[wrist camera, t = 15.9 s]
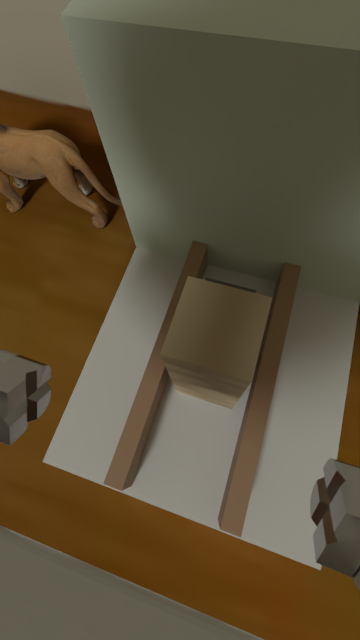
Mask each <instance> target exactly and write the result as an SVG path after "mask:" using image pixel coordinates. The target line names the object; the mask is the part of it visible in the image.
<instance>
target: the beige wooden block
mask: <svg viewBox="0 0 360 640" xmlns="http://www.w3.org/2000/svg"><path fill="white" fill-rule="evenodd" d="M256 291H257V290H253V289H249V288H245V287H241V286H237V285H233V284H230V283H226V282H222V281H218V280H214V279H210V278H206V279H205V280H202V279H198V278H195V277H191V276H188V277H187V280H186V283H185V286H184V289H183V291H182V294H181V297H180V300H179V302H178V305H177V308H176V311H175V314H174V316H173V319H172V322H171V325H170V327H169V330H168V333H167V336H166V339H165V341H164V344H163V347H162V350H161V352H160V355H161V358H162V360H163V362H164V364H165V367H166V369H167V371H168V373H169V376H170V378H171V380H172V382H173V385H174V387H175V389H176V391H177V392H179V393H182V394H185V395H188V396H192V397H195V398H198V399H201V400H204V401H207V402H210V403H213V404H216V405H219V406H223V407H226V408H229V409H232V408H233V407H234V406H235V404H236V403H237V401H238V400H239V399H240V397H241V396H242V394H243V393H244V392H245V390H246V389H247V387H248V386H249V385H250V383H251V381H252V377H253V373H254V369H255V365H256V361H257V357H258V353H259V349H260V345H261V341H262V337H263V333H264V329H265V325H266V322H267V318H268V314H269V310H270V306H271V302H272V298H273V297H269V296H265V295H261V294H257V293H256Z"/></svg>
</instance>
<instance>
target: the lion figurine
mask: <svg viewBox="0 0 360 640" xmlns="http://www.w3.org/2000/svg"><path fill="white" fill-rule="evenodd" d="M9 175H11V176H13V177H14V181H13V184H14V186H15V187H17V188H23V187H25V186H26V185H27V184H28V180H36V179H42V178H45V177H47V179H48V180H49V182H50V183H51V184H52V186H53V187H54V188H55V189H56V190H57V191H58V192H60V193H61V194H62V195H63V196H64V197H65V198H66V199H68V200H69V201H70V202H72V203H74V204H76V205H77V206H79V207H81V208H83V209H85V210H87V211H88V212H90V213H91V214H93V215H94V216H93V217H92V223H93V225H94V226H95V227H96V228H103V227H104V226H105V225H106V224H107V220H108V218H107V215H106V213H105V212H104V211H103V209H102V208H101V207H100V205H99V204H98V203H96V202H94V201H92V200H91V199H89V198H88V197H87V195H89V194H90V193H91V191H92V187H93V186H94V188H95V189H96V190H97V191H98V192H99V193H100V194H101V195H102V196H103V197H104V198H106V199H107V200H108V201H110V202H112V203H114V204H116V205H119V206H121V207H123V205H122V202H121V199H120V198H117V197H113V196H112V195H110V194H109V193H108V192H107V191H106V190H105V188H104V187H103V186H102V185H101V183H100V182H99V181H98V179H97V178H96V177H95V175H94V174H93V172H92V171H91V169H90V168H89V167H88V165H87V164H86V163H85V162H84V160H83V159H82V158H81V155H80V152H79V150H78V148H77V146H76V145H75V144H74V143H73V142H72V141H71V140H70V139H68V138H67V137H66V136H64V135H62V134H60V133H58V132H57V131H54V130H24V129H19V128H15V127H9V126H5V125H1V124H0V192H1V193H2V194H4V195H5V196H6V197H7V198H8V199H10V200H9V201H8V202H7V203H6V205H7V209H8V210H9V211H10V212H12V213H13V212H16V211H18V210H20V209H21V207H22V205H23V200H22V198H21V197H20V196H19V194H18V193H17V192H16V191H15V190H14V189H13V188H12V187H11V185H10V179H9ZM76 178H77V179H78V180H79V181H80V183H81V184H79V185H78V184H77V180H76Z"/></svg>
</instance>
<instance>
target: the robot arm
mask: <svg viewBox="0 0 360 640" xmlns="http://www.w3.org/2000/svg"><path fill="white" fill-rule="evenodd" d="M50 378H51V368H50V367H49V366H48V365H46V364H43V363H41V362H38V361H35V360H32V359H29V358H27V357H24V356H21V355H17V354H15V353H12V352H9V351H6V350H4V351H0V442H2V443H5V444H7V445H11V444H12V443H13V442H14V441H15V440H16V439H17V438H18V437H20V436H21V435H22V434H23V433H24V432H25V431H26V430H27V422H30V421H33V420H36V419H38V418H39V417H40V416H41V415H42V414H43V413H44V411H45V409H46V408H47V406H48V404H49V401H50V397H51V389H50V387H49V385H48V383H47V381H48V380H49V379H50ZM323 471H324V477H323V478H321V479H318V480H317V481H316V483H315V485H314V487H313V490H312V494H311V499H310V514H311V519H312V520H313V522H314V523H315V525H316V526H317V528H316V530H315V532H314V534H313V541H314V550H315V558H316V563H318V564H321V565H323V566H326V567H328V568H331V569H333V570H335V571H338V572H340V573H343V574H345V575H347V576H350V577H352V578H354V579H353V581H354V583H355V584H356V586H357V588H358V589H359V591H360V467H357V466H354V465H351V464H348V463H345V462H342V461H339V460H336V459H333V458H330V459H329V460H328V461H327V462H326V464H325V465H324V467H323ZM0 640H264V639H262V638H260V637H257V636H255V635H253V634H250V633H248V632H246V631H243V630H241V629H239V628H237V627H234V626H232V625H230V624H227V623H225V622H223V621H220V620H218V619H216V618H213V617H211V616H209V615H206V614H204V613H202V612H199V611H197V610H195V609H193V608H190V607H188V606H186V605H183V604H181V603H179V602H176V601H174V600H172V599H169V598H167V597H165V596H162V595H160V594H158V593H155V592H153V591H151V590H149V589H146V588H144V587H142V586H139V585H137V584H135V583H132V582H130V581H128V580H125V579H123V578H121V577H118V576H116V575H114V574H111V573H109V572H107V571H105V570H102V569H100V568H98V567H95V566H93V565H91V564H88V563H86V562H84V561H81V560H79V559H77V558H74V557H72V556H70V555H67V554H65V553H63V552H60V551H58V550H56V549H54V548H51V547H49V546H47V545H44V544H42V543H40V542H37V541H35V540H33V539H30V538H28V537H26V536H23V535H21V534H19V533H16V532H14V531H12V530H10V529H7V528H5V527H3V526H0Z"/></svg>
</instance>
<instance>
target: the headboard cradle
mask: <svg viewBox="0 0 360 640" xmlns="http://www.w3.org/2000/svg"><path fill="white" fill-rule="evenodd" d="M61 18H62V21H63V24H64V27H65V30H66V33H67V36H68V39H69V42H70V45H71V48H72V52H73V55H74V58H75V61H76V64H77V67H78V70H79V73H80V76H81V79H82V82H83V85H84V88H85V91H86V94H87V98H88V101H89V104H90V107H91V110H92V113H93V116H94V119H95V122H96V125H97V128H98V131H99V134H100V137H101V140H102V144H103V147H104V150H105V153H106V156H107V159H108V162H109V165H110V168H111V171H112V174H113V177H114V180H115V183H116V186H117V189H118V192H119V196H120V199H121V202H122V205H123V208H124V211H125V214H126V217H127V220H128V223H129V226H130V229H131V232H132V235H133V238H134V241H135V245H136V249H135V251H134V254H133V256H132V258H131V261H130V263H129V265H128V267H127V270H126V272H125V274H124V277H123V279H122V281H121V283H120V286H119V288H118V290H117V293H116V295H115V297H114V299H113V302H112V304H111V306H110V309H109V311H108V313H107V315H106V318H105V320H104V322H103V325H102V327H101V329H100V332H99V334H98V336H97V338H96V341H95V343H94V345H93V348H92V350H91V352H90V354H89V357H88V359H87V361H86V364H85V366H84V368H83V370H82V373H81V375H80V377H79V380H78V382H77V384H76V386H75V389H74V391H73V393H72V396H71V398H70V400H69V402H68V405H67V407H66V409H65V412H64V414H63V416H62V418H61V421H60V423H59V425H58V428H57V430H56V432H55V434H54V437H53V439H52V441H51V444H50V446H49V448H48V450H47V453H46V455H45V457H44V460H43V462H45V463H47V464H50V465H52V466H55V467H57V468H60V469H63V470H65V471H68V472H70V473H73V474H75V475H78V476H80V477H83V478H86V479H88V480H91V481H93V482H96V483H98V484H101V485H104V486H106V487H109V488H111V489H114V490H116V491H119V492H121V493H124V494H127V495H129V496H132V497H134V498H137V499H139V500H142V501H144V502H147V503H150V504H152V505H155V506H157V507H160V508H162V509H165V510H168V511H170V512H173V513H175V514H178V515H180V516H183V517H185V518H188V519H191V520H193V521H196V522H198V523H201V524H203V525H206V526H208V527H211V528H214V529H216V530H219V531H221V532H224V533H226V534H229V535H231V536H234V537H237V538H239V539H242V540H244V541H247V542H249V543H252V544H255V545H257V546H260V547H262V548H265V549H267V550H270V551H272V552H275V553H278V554H280V555H283V556H285V557H288V558H290V559H293V560H295V561H298V562H301V563H303V564H306V565H308V566H311V567H313V568H316V569H319V570H321V564H318V563H316V558H315V550H314V541H313V534H314V532H315V530H316V528H317V526H316V525H315V523H314V522H313V520H312V519H311V514H310V499H311V494H312V490H313V487H314V485H315V483H316V481H317V480H318V479H321V478H323V477H324V471H323V467H324V465H325V464H326V462H327V461H328V460H329V459H330V458H333V459H336V460H337V455H338V448H339V441H340V434H341V427H342V420H343V413H344V406H345V399H346V392H347V386H348V379H349V372H350V365H351V358H352V351H353V344H354V337H355V330H356V323H357V316H358V310H359V303H360V0H72V1H71V2H70V3H69V5H68V6H67V7H66V9H65V10H64V11H63V12H62V14H61ZM188 276H191V277H195V278H198V279H202V280H205V279H206V278H210V279H214V280H218V281H222V282H226V283H230V284H233V285H237V286H241V287H245V288H249V289H253V290H257V291H256V293H257V294H261V295H265V296H269V297H273V298H272V302H271V306H270V310H269V314H268V318H267V322H266V325H265V329H264V333H263V337H262V341H261V345H260V349H259V353H258V357H257V361H256V365H255V369H254V373H253V377H252V381H251V383H250V385H249V386H248V387H247V389H246V390H245V392H244V393H243V394H242V396H241V397H240V399H239V400H238V401H237V403H236V404H235V406H234V407H233V408H232V409H229V408H226V407H223V406H219V405H216V404H213V403H210V402H207V401H204V400H201V399H198V398H195V397H192V396H188V395H185V394H182V393H179V392H177V391H176V389H175V387H174V385H173V382H172V380H171V378H170V376H169V373H168V371H167V369H166V367H165V364H164V362H163V360H162V358H161V355H160V352H161V350H162V347H163V344H164V341H165V339H166V336H167V333H168V330H169V327H170V325H171V322H172V319H173V316H174V314H175V311H176V308H177V305H178V302H179V300H180V297H181V294H182V291H183V289H184V286H185V283H186V280H187V277H188Z"/></svg>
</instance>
